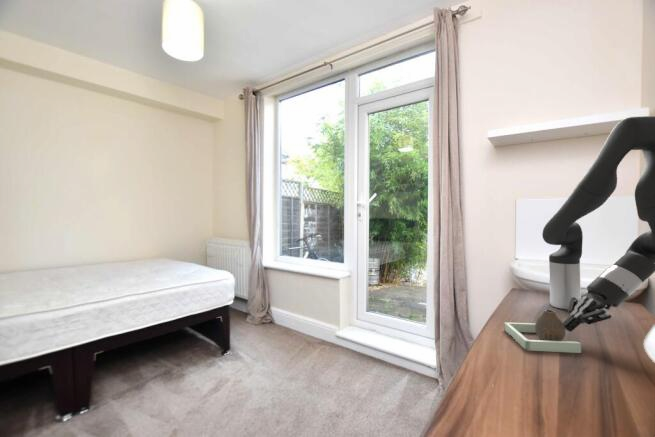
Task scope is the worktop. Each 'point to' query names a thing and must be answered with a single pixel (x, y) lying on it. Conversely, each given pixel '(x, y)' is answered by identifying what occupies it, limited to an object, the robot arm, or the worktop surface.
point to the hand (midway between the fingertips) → (565, 328)
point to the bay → (539, 345)
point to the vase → (550, 327)
